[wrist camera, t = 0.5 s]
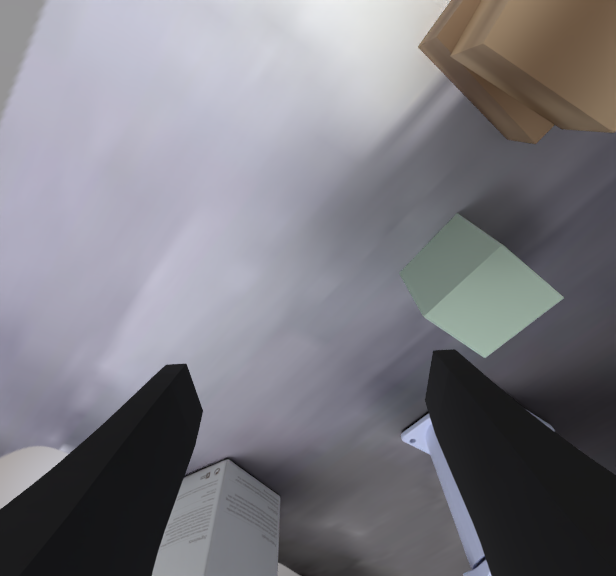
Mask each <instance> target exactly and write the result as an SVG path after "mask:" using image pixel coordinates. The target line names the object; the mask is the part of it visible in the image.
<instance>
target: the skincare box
mask: <svg viewBox="0 0 616 576" xmlns="http://www.w3.org/2000/svg"><path fill="white" fill-rule="evenodd" d="M279 520H280V496H279V495H277V494H276V493H275V492H273V491H272V490H270V489H269V488H268V487H266V486H265V485H263V484H262V483H261V482H259V481H258V480H257V479H255V478H254V477H252V476H251V475H250V474H248V473H247V472H245V471H244V470H243V469H241V468H240V467H239V466H237V465H236V464H234V463H233V462H232V461H230V460H229V459H227V460H224V461H221V462H219V463H216V464H214V465H212V466H209V467H207V468H205V469H202V470H200V471H198V472H196V473H193V474H191V475H189V476H187V477H185V478H184V479H183V481H182V484H181V487H180V490H179V493H178V495H177V498H176V501H175V504H174V506H173V509H172V512H171V515H170V518H169V520H168V523H167V526H166V529H165V532H164V535H163V538H162V541H161V544H160V547H159V550H158V554H157V557H156V561H155V565H154V569H153V572H152V576H277V571H278V546H279Z"/></svg>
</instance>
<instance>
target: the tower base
mask: <svg viewBox="0 0 616 576" xmlns="http://www.w3.org/2000/svg"><path fill="white" fill-rule="evenodd" d="M480 2H481V0H451V1H450V3H449V4H448V6H447V7H446V8H445V10H444V11H443V13H442V14H441V15H440V17H439V18H438V20H437V21H436V22H435V24H434V25H433V27H432V28H431V29H430V31H429V32H428V34H427V35H426V36H425V38H424V39H423V41H422V42H421V43H420V45H419V46H418V48H419V49H420V50H421V51H422V52H423V53H424V54H425V55H426V56H427V57H428V58H429V59H430V60H431V61H432V62H433V63H434V64H435V65H436V66H437V67H438V68H439V69H440V70H441V71H442V72H443V73H444V75H445V76H446V77H447V78H448V79H449V80H450V81H451V82H452V83H453V84H454V85H455V86H456V87H457V88H458V89H459V90H460V91H461V92H462V93H463V94H464V95H465V96H466V97H467V98H468V99H469V100H470V101H471V102H472V104H473V105H474V106H475V107H476V108H477V109H478V110H479V111H480V112H481V113H482V114H483V115H484V116H485V117H486V118H487V119H488V120H489V121H490V122H491V123H492V124H493V125H494V126H495V127H496V128H497V129H498V130H499V131H500V133H501V134H502V135H503V136H504V137H505V138H506V139H507V140H513V141H519V142H526V143H532V144H536V143H537V142H538V141H539V140H540V139H541V138H542V137H543V136H544V135H545V134H546V133H547V132H548V131H549V130H550V129H551V128H552V127H553V126H554V124H553V123H551V122H550V121H548V120H547V119H545V118H544V117H542V116H541V115H539V114H538V113H536V112H535V111H533V110H531V109H530V108H528V107H527V106H525V105H524V104H522V103H521V102H519V101H518V100H516V99H515V98H513V97H512V96H510V95H508V94H507V93H505V92H504V91H502V90H501V89H499V88H498V87H496V86H495V85H493V84H492V83H490V82H489V81H487V80H486V79H484V78H482V77H481V76H479V75H478V74H476V73H475V72H473V71H472V70H470V69H469V68H467V67H466V66H464V65H463V64H461V63H459V62H458V61H456V60H455V59H453V58H452V57H450V55H451V53H452V52H453V50H454V48H455V46H456V45H457V43H458V41H459V39H460V37H461V36H462V34H463V32H464V30H465V29H466V27H467V25H468V23H469V21H470V20H471V18H472V16H473V14H474V13H475V11H476V9H477V7H478V5H479V4H480Z"/></svg>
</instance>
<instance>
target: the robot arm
mask: <svg viewBox="0 0 616 576" xmlns="http://www.w3.org/2000/svg"><path fill="white" fill-rule="evenodd" d="M425 402H426V405H427V409H428V412H429V413H428V414H427V415H426V416H424V417H423V418H422V419H420V420H419V421H418V422H416V423H415V424H413V425H412V426H411V427H409V428H408V429H407V430H405V431H404V432H403V433H402V434H401V438H402V440H403V441H404V442H406V443H408V444H410V445H412V446H414V447H416V448H418V449H420V450H422V451H424V452H426V453H428V454H430V455H431V457H432V460H433V463H434V466H435V469H436V471H437V474H438V477H439V480H440V483H441V485H442V488H443V491H444V494H445V497H446V499H447V502H448V505H449V508H450V511H451V513H452V516H453V519H454V522H455V525H456V527H457V530H458V533H459V536H460V539H461V541H462V544H463V547H464V550H465V552H466V555H467V558H468V561H469V564H470V566H471V569H472V570H471V571H468V572H465V573H464V574H463V576H616V475H614V474H613V473H612V472H610V471H609V470H607V469H606V468H604V467H603V466H601V465H600V464H598V463H597V462H595V461H594V460H592V459H591V458H590V457H588V456H587V455H585V454H584V453H583V452H581V451H580V450H578V449H577V448H576V447H574V446H573V445H572V444H570V443H569V442H568V441H566V440H565V439H564V438H562V437H561V436H560V435H558V434H557V433H556V432H554V431H555V430H554V428H553V427H552V426H551V425H550V424H548V423H547V422H545V421H544V420H542V419H541V418H539V417H537V416H536V415H534V414H533V413H531V412H530V411H528V410H526V409H525V408H523V407H522V406H521V405H520V404H518V403H517V402H516V401H515V400H514V399H512V398H511V397H510V396H509V395H508V394H506V393H505V392H504V391H503V390H502V389H500V388H499V387H498V386H497V385H496V384H495V383H493V382H492V381H491V380H490V379H489V378H488V377H486V376H485V375H484V374H483V373H482V372H481V371H479V370H478V369H477V368H476V367H475V366H474V365H472V364H471V363H470V362H469V361H468V360H467V359H466V358H464V357H463V356H462V355H461V354H460V353H459V352H457V351H456V350H455V349H454V350H435V351H433V355H432V361H431V367H430V374H429V380H428V386H427V392H426V398H425ZM202 413H203V410H202V407H201V404H200V401H199V398H198V395H197V393H196V390H195V387H194V384H193V381H192V378H191V375H190V373H189V370H188V367H187V364H172V365H166V366H164V367H163V368H162V369H161V370H160V371H159V372H158V373H157V374H156V375H154V376H153V377H152V378H151V379H150V380H149V381H148V382H147V383H146V384H145V385H144V386H143V387H142V388H141V389H140V390H139V391H138V392H137V393H136V394H135V395H134V396H132V397H131V398H130V399H129V400H128V401H127V402H126V403H125V404H124V405H123V406H122V407H121V408H120V409H119V410H118V411H117V412H115V413H114V414H113V415H112V416H111V417H110V418H109V419H108V420H107V421H106V422H105V423H104V424H103V425H102V426H100V427H99V428H98V429H97V430H96V431H95V432H94V433H93V434H91V435H90V436H89V437H88V438H87V439H86V440H85V441H83V442H82V443H81V444H80V445H79V446H78V447H77V448H75V449H74V450H73V451H72V452H71V453H70V454H69V455H67V456H66V457H65V458H64V459H63V460H62V461H61V462H60V463H58V464H57V465H56V466H55V467H53V468H52V469H51V470H50V471H49V472H48V473H46V474H45V475H44V476H42V477H41V478H40V479H39V480H38V481H36V482H35V483H34V484H33V485H31V486H30V487H29V488H27V489H26V490H25V491H23V492H22V493H21V494H20V495H18V496H17V497H16V498H14V499H13V500H12V501H11V502H9V503H8V504H7V505H6V506H4V507H3V508H1V509H0V576H152V572H153V569H154V565H155V561H156V557H157V554H158V550H159V547H160V544H161V541H162V538H163V535H164V532H165V529H166V526H167V523H168V520H169V518H170V515H171V512H172V509H173V506H174V504H175V501H176V498H177V495H178V493H179V490H180V487H181V484H182V481H183V479H184V476H185V473H186V470H187V467H188V464H189V462H190V459H191V456H192V453H193V450H194V447H195V444H196V439H197V435H198V431H199V427H200V422H201V417H202Z"/></svg>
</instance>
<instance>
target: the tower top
mask: <svg viewBox="0 0 616 576" xmlns="http://www.w3.org/2000/svg"><path fill="white" fill-rule="evenodd" d="M450 57H452V58H453V59H455V60H456V61H458V62H459V63H461V64H463V65H464V66H466V67H467V68H469V69H470V70H472V71H473V72H475V73H476V74H478V75H479V76H481V77H482V78H484V79H486V80H487V81H489V82H490V83H492V84H493V85H495V86H496V87H498V88H499V89H501V90H502V91H504V92H505V93H507V94H508V95H510V96H512V97H513V98H515V99H516V100H518V101H519V102H521V103H522V104H524V105H525V106H527V107H528V108H530V109H531V110H533V111H535V112H536V113H538V114H539V115H541V116H542V117H544V118H545V119H547V120H548V121H550V122H551V123H553V124H554V125H556V126H557V127H559V128H561V129H567V130H581V131H595V132H609V133H615V131H616V0H481V2H480V4H479V5H478V7H477V9H476V11H475V13H474V14H473V16H472V18H471V20H470V21H469V23H468V25H467V27H466V29H465V30H464V32H463V34H462V36H461V37H460V39H459V41H458V43H457V45H456V46H455V48H454V50H453V52H452V53H451V55H450Z"/></svg>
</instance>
